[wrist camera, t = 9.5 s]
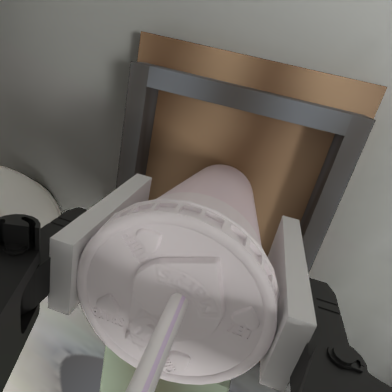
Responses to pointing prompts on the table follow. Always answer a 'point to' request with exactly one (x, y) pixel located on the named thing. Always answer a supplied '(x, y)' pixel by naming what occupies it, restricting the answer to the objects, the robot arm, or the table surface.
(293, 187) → the board
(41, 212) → the lidded jar
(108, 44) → the table surface
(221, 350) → the smoothie
